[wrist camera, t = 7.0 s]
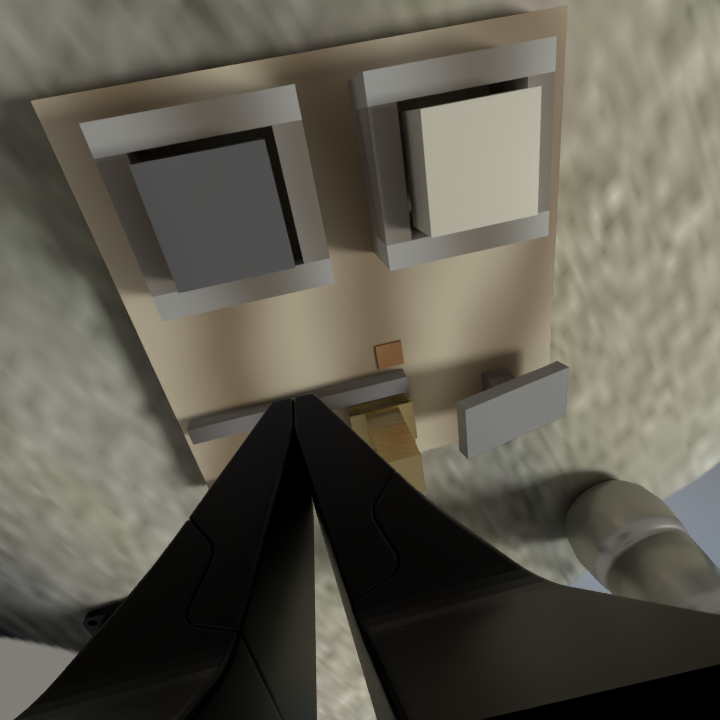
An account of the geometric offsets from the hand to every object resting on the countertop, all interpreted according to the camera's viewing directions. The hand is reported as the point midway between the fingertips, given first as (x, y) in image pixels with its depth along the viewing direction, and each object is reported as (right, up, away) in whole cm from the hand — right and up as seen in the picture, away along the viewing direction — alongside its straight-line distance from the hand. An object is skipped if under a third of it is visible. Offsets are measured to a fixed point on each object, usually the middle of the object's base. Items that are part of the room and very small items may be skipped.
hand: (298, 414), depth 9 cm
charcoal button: (-3, +6, +5) cm, 9 cm away
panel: (+1, +4, +11) cm, 12 cm away
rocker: (+8, -1, +11) cm, 14 cm away
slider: (+2, -2, +13) cm, 13 cm away
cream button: (+5, +8, +6) cm, 11 cm away
